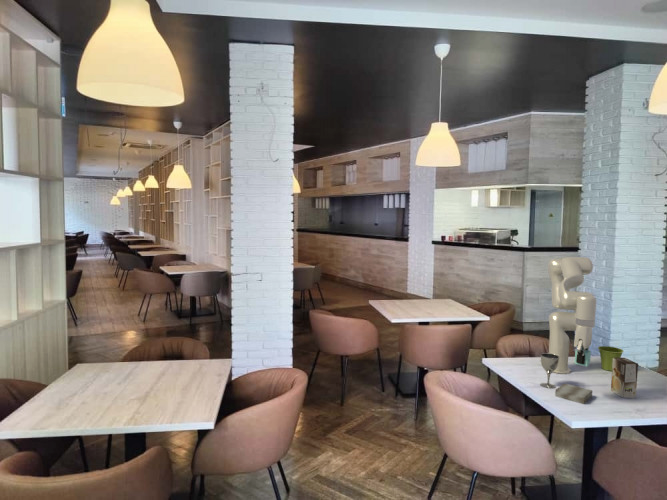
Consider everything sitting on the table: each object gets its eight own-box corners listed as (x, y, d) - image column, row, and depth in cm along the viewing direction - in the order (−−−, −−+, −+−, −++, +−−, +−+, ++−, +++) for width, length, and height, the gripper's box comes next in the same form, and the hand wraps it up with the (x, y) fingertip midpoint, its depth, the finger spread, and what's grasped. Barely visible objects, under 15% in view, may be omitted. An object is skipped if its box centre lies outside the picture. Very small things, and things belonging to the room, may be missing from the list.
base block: (555, 396, 207) (555, 389, 207) (564, 389, 215) (564, 383, 215) (583, 404, 198) (584, 397, 198) (592, 396, 207) (592, 390, 207)
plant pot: (603, 364, 254) (605, 344, 253) (626, 370, 244) (628, 350, 243) (592, 367, 248) (593, 347, 247) (614, 374, 238) (616, 353, 237)
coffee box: (636, 397, 207) (639, 363, 206) (623, 398, 206) (626, 363, 205) (622, 390, 216) (624, 357, 215) (609, 390, 216) (612, 357, 214)
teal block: (574, 363, 204) (575, 350, 203) (577, 361, 208) (578, 348, 207) (586, 366, 201) (587, 353, 200) (589, 363, 204) (590, 350, 204)
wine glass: (555, 384, 222) (557, 354, 221) (558, 389, 215) (560, 359, 213) (538, 381, 225) (540, 352, 223) (540, 387, 217) (541, 357, 216)
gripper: (581, 318, 211) (578, 355, 213) (570, 324, 199) (567, 364, 200) (599, 321, 206) (596, 359, 208) (589, 327, 194) (586, 368, 195)
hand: (582, 361), depth 204 cm, fingers closed on teal block, 4 cm apart
